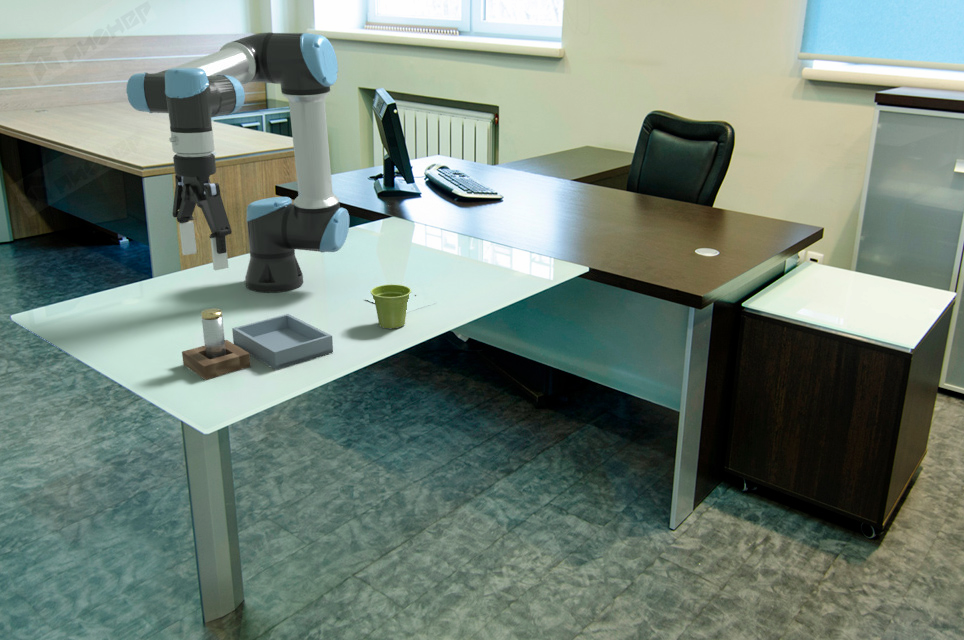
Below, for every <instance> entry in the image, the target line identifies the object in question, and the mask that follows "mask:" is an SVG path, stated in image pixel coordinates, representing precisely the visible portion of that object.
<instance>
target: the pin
mask: <svg viewBox="0 0 964 640" xmlns="http://www.w3.org/2000/svg"><path fill="white" fill-rule="evenodd" d="M200 314H201V315H200V317H201V322H202V323H201V325H202V332H203V333H202V334H203V341H204V342H203V343H204V346H205V352H206V357H207V358H208V359H214V358H217V357H221V356H225V355H226V348H225V340H226V339H225V332H224V331H225V330H224V320H223V311H222V309H220V308H208V309H203V310H202V311H201V312H200Z"/></svg>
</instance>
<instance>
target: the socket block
mask: <svg viewBox="0 0 964 640" xmlns="http://www.w3.org/2000/svg"><path fill="white" fill-rule="evenodd" d="M225 348H226V355H225V356H221V357H217V358H214V359H208V358H207V357H206V352H205V345H201V346H199V347H194V348H190V349H187V350H183V351H181V354H182V355H181V357H182V364H183V366H184V367H186V368H187V369H189V370H190V371H192V372H193V373H194V374H196V375H197V376H199V377H200V378H201V379H203V380H205V381H207V380H210V379H214V378H217V377H221V376H224V375H228V374H231V373H235V372H238V371H241V370H244V369H248V368H251V367H252V365H251V363H252V362H251V355H250V353H248V352H246V351H245V350H243V349H241V348H240V347H238V346H236V345H235V344H234V342H231V341H229V340H228V339H225Z"/></svg>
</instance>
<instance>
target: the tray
mask: <svg viewBox="0 0 964 640" xmlns="http://www.w3.org/2000/svg"><path fill="white" fill-rule="evenodd" d="M231 329H232V330H231V331H232V340H233V342H232V343H233V344H235V345H236V346H238V347H240V348H241V349H243V350H245V351H246V352H248V353H250V357H253V358H255V359H256V360H258V361H260V362H261V363H263V364H265V365H267V366H268V367H270V368H272V369H274V370H275V371H278V370H281V369H284V368H285V369H286V368H288V367H291V366H294V365H297V364H300V363H305V362H308V361H311V360H314V359H317V358H316V357H318V358H321V357H324V356H326V355H325V354H327V355H330V354H329V353H331V354H333V353H334V346H333V344H334V343H333V341H334V340H333V335H332V334H329V333H328V332H325V331H324V330H322V329H321V328H318V327H315V326H314V325H311V324H310V323H308V322H305V321H303V320H301V319H299V318H297V317H296V316H294V315H291V314H289V313H286V314H282V315H278V316H274V317H271V318H267V319H263V320H258V321H256V322H251V323H247V324H244V325H240V326H236V327H231ZM332 352H333V353H332ZM323 355H324V356H323ZM320 356H321V357H320Z"/></svg>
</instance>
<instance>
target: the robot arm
mask: <svg viewBox="0 0 964 640" xmlns="http://www.w3.org/2000/svg"><path fill="white" fill-rule="evenodd" d="M338 72H339V67H338V59H337V55H336V52H335V49H334V47H333V44H332V43H331V42H330V40H329V39H328V37H325V35H322V34H316V33H310V32H307V33H306V32H260V33H255V34H252V35H249V36H245V37H242V38H239V39H235V40H232V41H230V42H227V43H225V44H224V45H223V46H221V48H220V49H219V50H218V51H216V52H213V53H210V54H208V55H205V56H203V57H199V58H197V59H194V60H190V61H188V62H185V63H182V64H180V65H177V66H174V67H171V68H168V69H166V70H165V69H164V70H161V71H158V72H154V73H148V72H142V73H133V74H132V75H131V76H130V77H129V78H128V80H127V84H126V89H125V91H126V94H127V100H128V102H129V104H130V106H131V107H132V108H133V109H134V110H136V111H139V112H145V113H149V114H153V113H155V114H168V121H169V129H170V137H169V140H168V141H169V142H170V143H171V147H172V152H173V153H174V155H173V157H172V159H173V167H174V173H175V176H174V178H175V180H174V181H175V188H174V197H173V207H172V217H173V218H176V221H177V223H178V226H179V227H178V228H179V236H180V243H181V253H182V255H183V256H188V255H193V254H197V251H198V249H197V242H196V234H195V233H196V232H195V225H194V220H195V219H194V216H193V214H194V212H195V209H196V205H197V207H198V208H200V209H201V212H202V214H203V215H204V219H205V221H206V224H207V225H208V228H209V230H210V232H211V233H210V234H209V238H210V245H211V247H210V248H211V257H212V258H211V259H212V266H213V268H212V269H213V270H214V271H219V270H226V269H229V260H228V259H229V258H228V249H227V247H228V246H227V236H229V235H232V228H231V224H230V222H229V218H228V215H227V211H226V208H225V205H224V202H223V198H222V195H221V188H220V184H219V182H213V183H211V181H210V177H211V175H214V174H216V172H217V165H216V155H215V154H214V153H213V152H214V151H215V144H214V131H213V125H212V124H213V123H212V118H214V117H221V116H229V115H232V114H233V113H236V112H238V111H240V110H241V109H242V107H243V106H244V104H245V99H246V97H245V96H246V94H245V88H244V87H243V85H246V84H248V83H265V84H276V85H277V84H278V85H280V91H281V95H283V96H284V97H285V98H286V99H287V100H288V105H289V106H288V107H289V115H290V116H289V117H290V123H291V124H290V125H291V126H290V127H291V135H292V144H293V145H292V146H293V152H294V153H293V154H294V163H295V172H296V173H295V174H296V182H297V184H296V185H297V193H298V194H297V195H298V196H296V198H294V200H293V199H292V198H290V197H289V196H276V197H275V196H274V197H268V198H262V199H258V200H255V201H253V202H250V203H249V204H248V205H247V207H246V220H245V221H246V224H247V235H248V245H249V247H248V248H249V256H250V257H249V261H248V266H247V270H246V274H245V277H244V278H245V279H244V280H245V287H246V288H247V289H248V290H251V291H252V292H253V291H254V292H257V293H258V292H259V293H282V292H287V291H291V290H296V289H297V288H299V287H301V286H303V284H304V274H303V272H302V270H301V267H300V265H299V262H298V260H297V258H296V252H295V251H296V250H298V251H308V252H320V253H335V252H338V251H340V250H341V248H342V247H343V246H344V245H345V242H346V240H347V237H348V234H349V229H350V215H349V214H350V213H349V211H348V210H347V209H346V208H344V207H341V206H340V198H339V197H338V196H337V195H335V193H333V183H332V180H333V179H332V170H331V169H332V168H331V157H330V146H329V136H328V123H327V114H326V113H327V110H326V97H327V96H328V95H329V94H330V93H331V86H334V85H335V84H336V81H337V79H338Z"/></svg>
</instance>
